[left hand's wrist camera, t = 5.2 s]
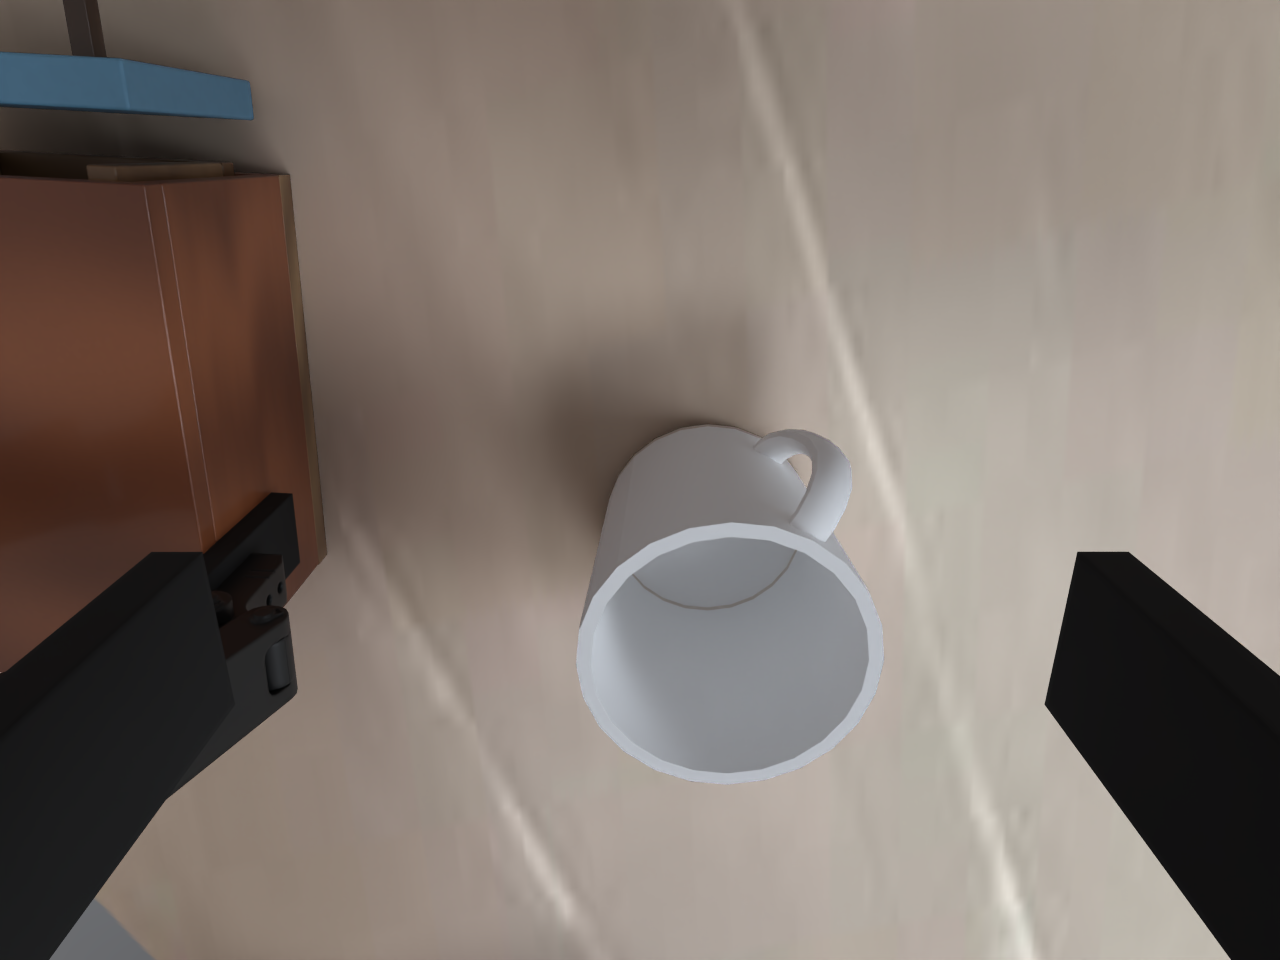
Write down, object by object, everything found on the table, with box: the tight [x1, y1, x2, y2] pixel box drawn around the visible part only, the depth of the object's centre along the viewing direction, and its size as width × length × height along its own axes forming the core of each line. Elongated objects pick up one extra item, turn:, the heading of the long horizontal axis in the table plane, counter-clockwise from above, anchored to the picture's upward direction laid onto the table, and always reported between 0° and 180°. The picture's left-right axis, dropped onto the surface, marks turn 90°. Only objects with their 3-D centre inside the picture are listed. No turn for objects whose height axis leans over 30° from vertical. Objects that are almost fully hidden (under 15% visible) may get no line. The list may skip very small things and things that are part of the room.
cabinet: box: [0, 172, 327, 672], centre depth 28 cm, size 15×11×9 cm
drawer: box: [0, 0, 254, 182], centre depth 25 cm, size 19×10×7 cm, turn 177°
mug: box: [576, 424, 884, 784], centre depth 29 cm, size 11×9×10 cm
